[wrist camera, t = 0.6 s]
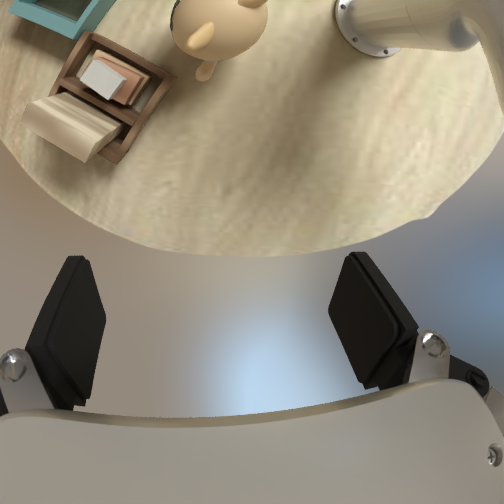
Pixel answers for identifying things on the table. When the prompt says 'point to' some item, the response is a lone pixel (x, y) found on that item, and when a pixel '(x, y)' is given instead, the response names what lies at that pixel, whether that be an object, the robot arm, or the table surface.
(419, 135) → the table surface
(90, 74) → the offcut
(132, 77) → the offcut
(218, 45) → the kitten
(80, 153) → the wooden board
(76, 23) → the stand
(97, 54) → the offcut
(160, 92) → the rack
